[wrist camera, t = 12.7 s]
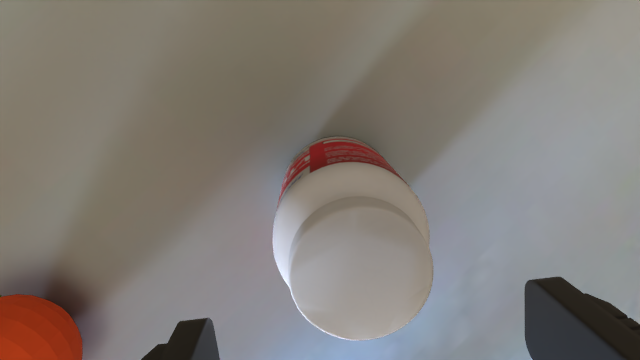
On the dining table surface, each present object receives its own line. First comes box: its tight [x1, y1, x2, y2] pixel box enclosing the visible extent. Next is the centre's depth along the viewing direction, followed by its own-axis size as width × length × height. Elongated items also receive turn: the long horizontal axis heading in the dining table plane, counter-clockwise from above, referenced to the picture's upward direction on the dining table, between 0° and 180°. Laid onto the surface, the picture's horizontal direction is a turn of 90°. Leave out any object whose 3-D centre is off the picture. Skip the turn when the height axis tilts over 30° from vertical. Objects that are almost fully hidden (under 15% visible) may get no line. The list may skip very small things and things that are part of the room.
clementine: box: [0, 294, 82, 360], centre depth 22 cm, size 8×7×7 cm
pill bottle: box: [273, 137, 433, 340], centre depth 19 cm, size 6×6×11 cm
